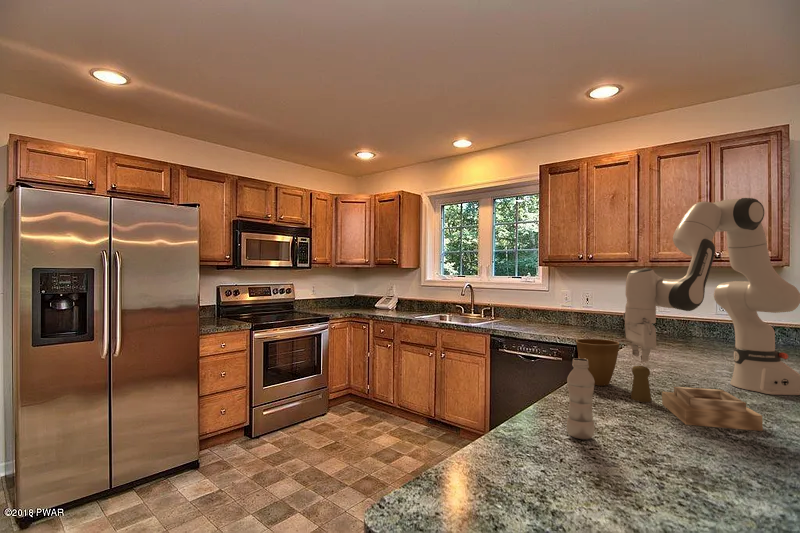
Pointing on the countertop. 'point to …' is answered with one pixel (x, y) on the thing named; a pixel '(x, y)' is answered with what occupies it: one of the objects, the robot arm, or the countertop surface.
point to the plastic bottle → (580, 400)
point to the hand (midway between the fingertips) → (640, 358)
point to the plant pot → (599, 358)
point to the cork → (641, 384)
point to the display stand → (711, 409)
